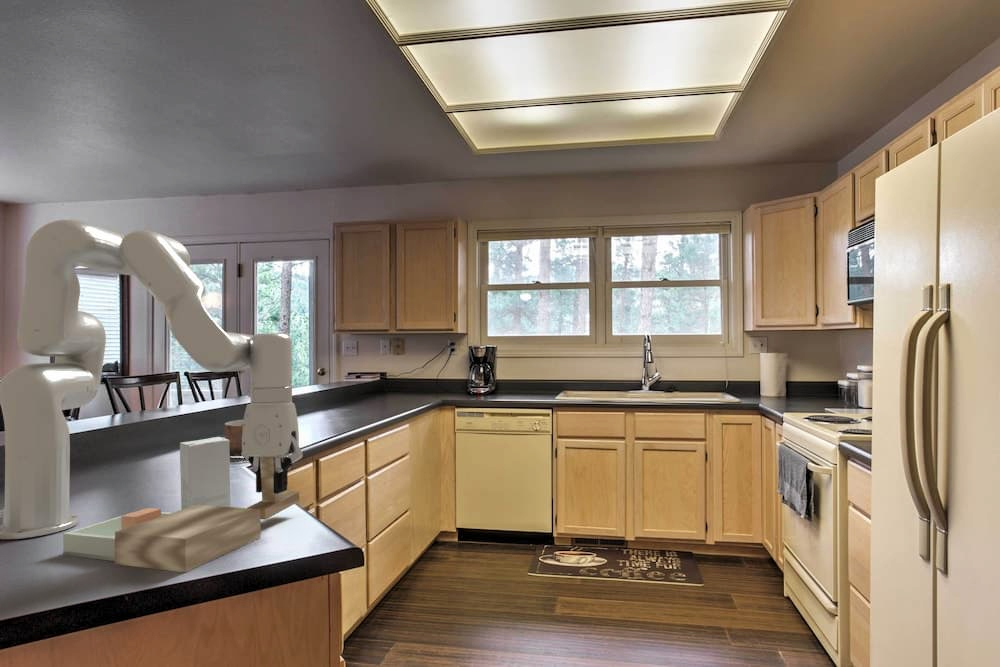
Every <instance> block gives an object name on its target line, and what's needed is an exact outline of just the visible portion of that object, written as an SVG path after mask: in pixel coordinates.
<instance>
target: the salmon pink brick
mask: <svg viewBox="0 0 1000 667" xmlns="http://www.w3.org/2000/svg"><path fill="white" fill-rule="evenodd" d="M161 512H162V509H161V508H153V507H147V508H143V509H140V510H139V509H138V510H137V511H133V513H132V512H130V514H129V513H127V514H123V515H120V516H121V530H122V529H125V528H128V527H131V526H134V525H137V524H140V523H143V522H146V521H149V520H152V519H155V518H159V517H161Z"/></svg>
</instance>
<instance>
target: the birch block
mask: <svg viewBox="0 0 1000 667" xmlns="http://www.w3.org/2000/svg"><path fill="white" fill-rule="evenodd" d="M170 513H171V514H168V515H165V516H162V517H159V518H155V519H152V520H149V521H146V522H143V523H140V524H137V525H134V526H131V527H128V528H125V529H122V530H119V531H116V532H115V561H114V564H115V565H121V566H129V567H136V568H145V569H153V570H162V571H171V572H178V573H179V572H180V573H188V572H190V571H191V570H194V569H196V568H198V567H200V566H202V565H205V564H207V563H209V562H211V561H214V560H215V559H218V558H220V557H223V556H224V555H226V554H229V553H231V552H233V551H235V550H237V549H239V548H241V547H244V546H246V545H248V544H250V543H253V542H254V541H256V540H259V539H260V538H261V519H260V509H249V508H248V507H246V508H245V507H233V506H231V507H222V506H209V505H195V506H192V507H189V508H186V509H183V510H181V509H180V510H177V511H174V512H170Z"/></svg>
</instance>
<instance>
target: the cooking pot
mask: <svg viewBox="0 0 1000 667" xmlns="http://www.w3.org/2000/svg"><path fill="white" fill-rule="evenodd" d="M243 421H244V419H237V420H231V421H228V422H225V423H224V438H225V439H228V440H229V456H242V455H241V453H242V431H243Z"/></svg>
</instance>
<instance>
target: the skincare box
mask: <svg viewBox="0 0 1000 667" xmlns="http://www.w3.org/2000/svg"><path fill="white" fill-rule="evenodd" d="M230 460H231V458H230V456H229V440H228V439H225V437H222V436H216V437H214V436H213V437H210V438H204V439H198V440H190V441H183V442H179V464H180V472H179V474H180V507H181V509H180V510H183V509H186V508H189V507H192V506H195V505H209V506H222V507H232V506H231V505H232V504H231V470H230V468H231V466H230V465H231V463H230Z"/></svg>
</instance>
